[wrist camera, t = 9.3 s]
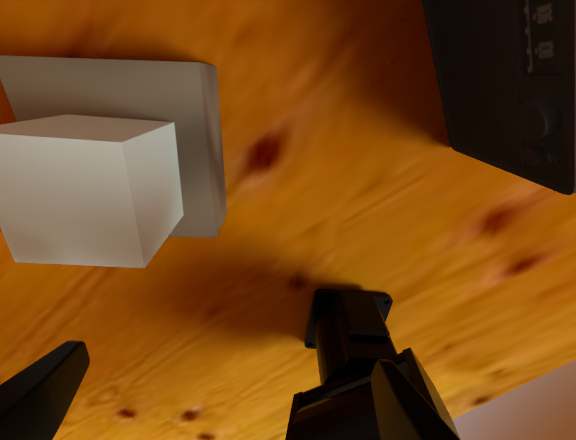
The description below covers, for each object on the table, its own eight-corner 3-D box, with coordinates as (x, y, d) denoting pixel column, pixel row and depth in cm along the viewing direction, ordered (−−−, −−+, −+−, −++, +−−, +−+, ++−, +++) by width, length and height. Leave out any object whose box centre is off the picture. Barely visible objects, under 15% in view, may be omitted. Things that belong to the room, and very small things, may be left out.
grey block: (228, 209, 20) (216, 237, 16) (100, 206, 20) (60, 234, 16) (217, 66, 16) (199, 62, 12) (57, 61, 16) (-9, 55, 12)
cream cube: (183, 215, 16) (144, 268, 11) (92, 209, 15) (15, 262, 11) (174, 122, 14) (121, 142, 9) (67, 114, 13) (-42, 130, 9)
